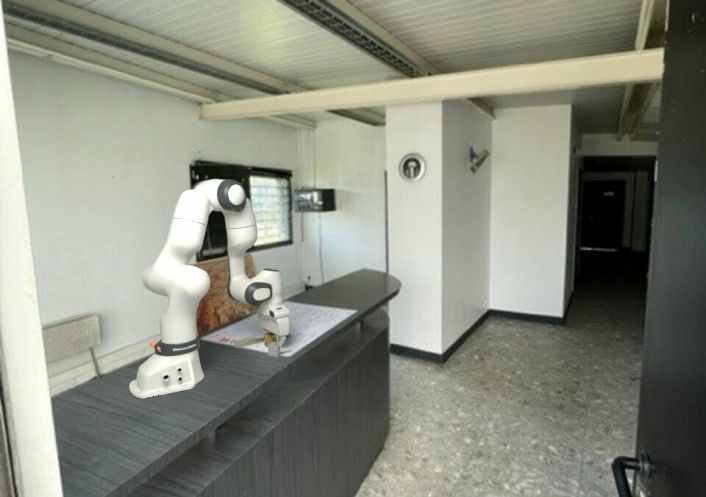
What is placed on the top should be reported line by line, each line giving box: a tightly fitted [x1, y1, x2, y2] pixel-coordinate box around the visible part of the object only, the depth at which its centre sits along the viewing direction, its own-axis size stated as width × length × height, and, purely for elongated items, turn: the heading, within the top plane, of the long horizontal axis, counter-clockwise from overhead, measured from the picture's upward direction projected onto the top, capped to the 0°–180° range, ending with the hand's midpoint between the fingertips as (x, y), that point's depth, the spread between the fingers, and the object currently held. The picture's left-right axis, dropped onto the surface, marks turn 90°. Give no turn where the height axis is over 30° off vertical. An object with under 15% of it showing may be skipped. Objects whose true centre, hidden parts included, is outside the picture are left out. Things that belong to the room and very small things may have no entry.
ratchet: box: [233, 329, 292, 349], centre depth 180 cm, size 25×7×6 cm, turn 129°
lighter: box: [267, 336, 287, 358], centre depth 163 cm, size 7×2×8 cm, turn 74°
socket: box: [263, 331, 277, 348], centre depth 174 cm, size 5×5×5 cm
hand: (272, 341), depth 174 cm, fingers open, 8 cm apart
